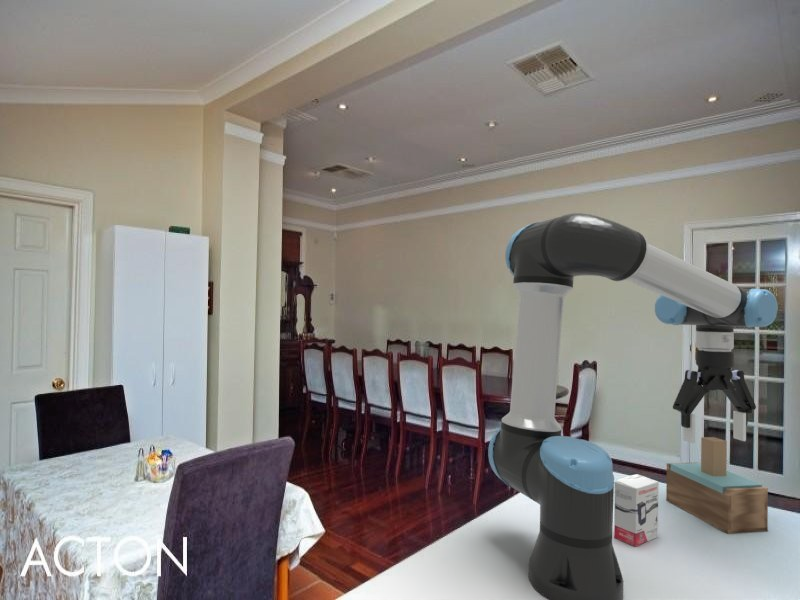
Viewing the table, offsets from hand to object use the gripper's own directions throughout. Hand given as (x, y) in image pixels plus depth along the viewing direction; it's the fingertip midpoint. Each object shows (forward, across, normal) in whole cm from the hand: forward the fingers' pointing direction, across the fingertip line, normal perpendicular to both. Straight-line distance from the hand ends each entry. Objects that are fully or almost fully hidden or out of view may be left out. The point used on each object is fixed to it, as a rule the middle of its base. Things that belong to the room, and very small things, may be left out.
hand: (714, 440), depth 111 cm
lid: (+9, 0, 0) cm, 9 cm away
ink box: (+17, -26, -8) cm, 33 cm away
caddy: (+17, 0, 0) cm, 17 cm away
